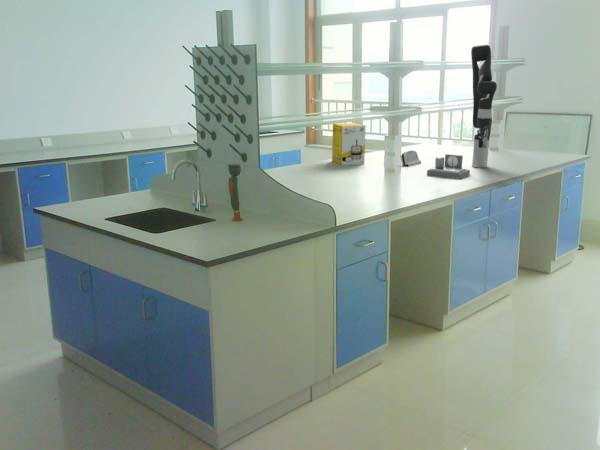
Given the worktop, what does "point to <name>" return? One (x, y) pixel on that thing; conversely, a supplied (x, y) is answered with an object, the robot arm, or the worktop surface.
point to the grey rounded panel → (410, 158)
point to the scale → (450, 168)
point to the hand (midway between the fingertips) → (482, 146)
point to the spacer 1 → (439, 163)
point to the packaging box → (348, 144)
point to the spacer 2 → (483, 142)
